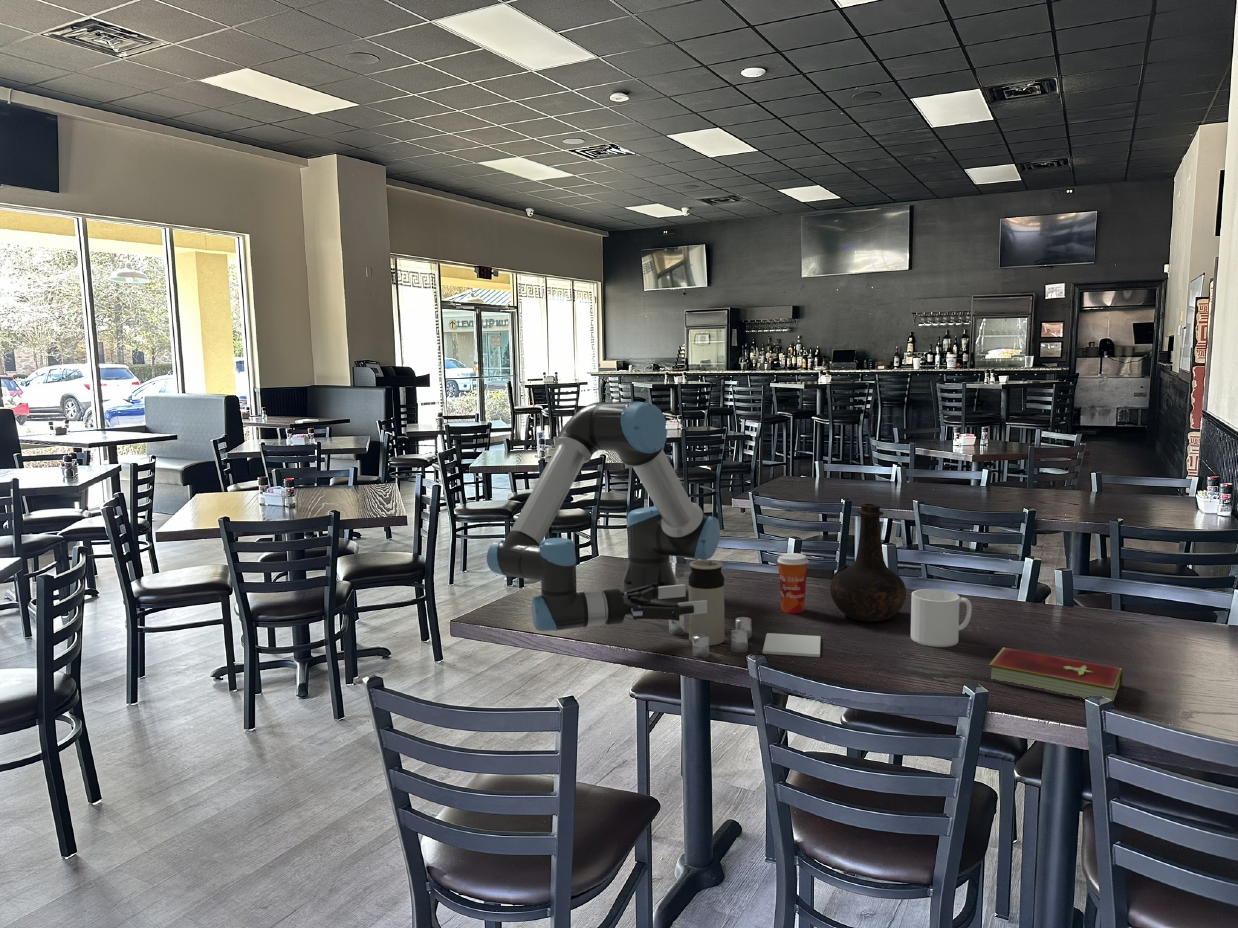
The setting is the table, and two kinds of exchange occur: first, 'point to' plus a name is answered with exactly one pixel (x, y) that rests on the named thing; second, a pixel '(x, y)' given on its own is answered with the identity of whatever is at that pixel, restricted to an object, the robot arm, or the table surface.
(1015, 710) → the table surface
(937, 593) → the mug
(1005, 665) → the hardcover book
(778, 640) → the rubber mat
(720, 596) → the travel mug
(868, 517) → the glass bottle
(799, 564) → the paper cup
